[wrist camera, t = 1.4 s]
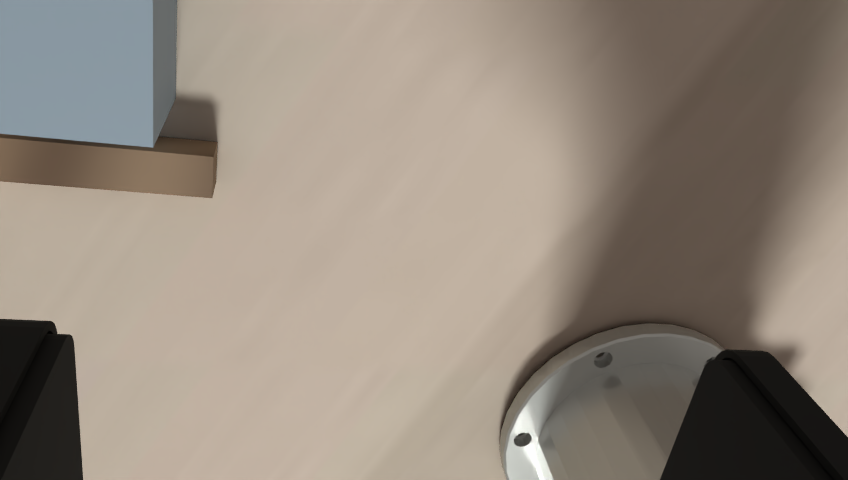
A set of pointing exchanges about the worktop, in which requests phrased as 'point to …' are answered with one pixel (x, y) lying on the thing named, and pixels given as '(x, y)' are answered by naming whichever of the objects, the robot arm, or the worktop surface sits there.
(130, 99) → the light blue cube
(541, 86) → the worktop surface
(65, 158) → the track
